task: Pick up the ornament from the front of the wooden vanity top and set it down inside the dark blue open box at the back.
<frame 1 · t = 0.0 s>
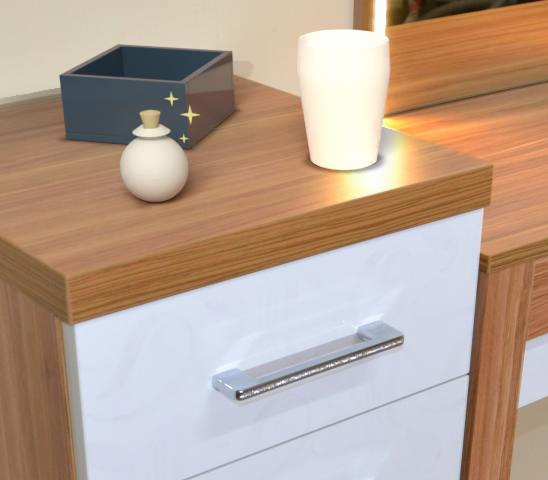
dark blue open box: (154, 124, 125), on the dresser top
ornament: (164, 202, 104), on the dresser top
cup: (343, 162, 115), on the dresser top
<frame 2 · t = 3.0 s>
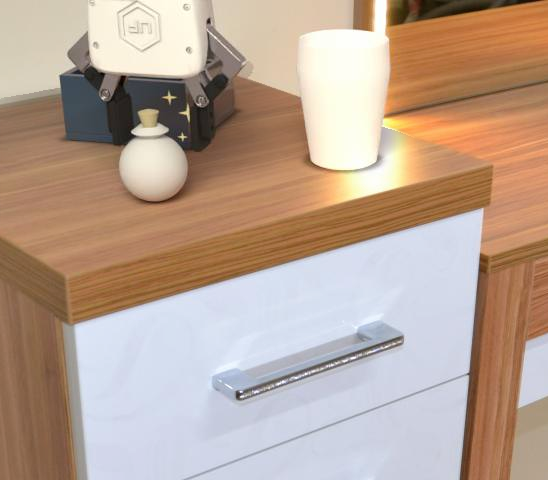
hand: (162, 142, 102), 5 cm above the dresser top, tool pointing down, fingers closed on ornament, 6 cm apart
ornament: (164, 201, 104), on the dresser top, touching gripper
everything else where it was.
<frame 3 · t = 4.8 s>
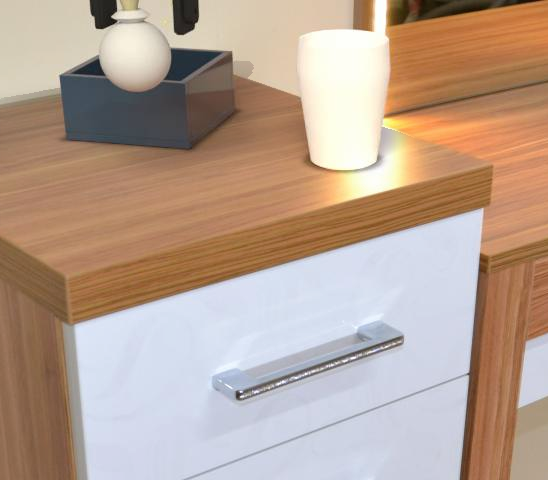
hand: (145, 27, 97), 15 cm above the dresser top, tool pointing down, fingers closed on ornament, 6 cm apart
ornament: (147, 93, 99), point 10 cm above the dresser top, touching gripper
everything else where it was.
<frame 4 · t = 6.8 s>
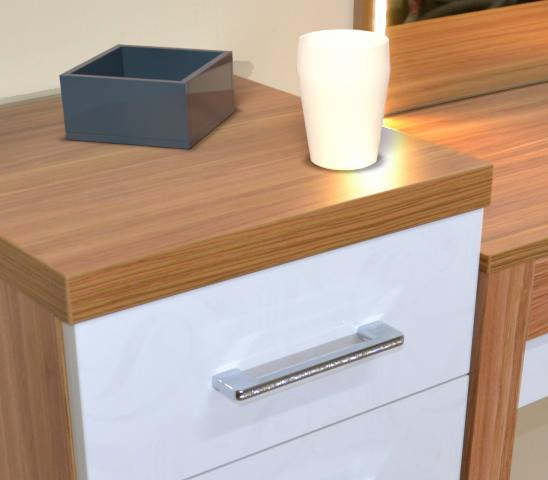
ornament: (142, 1, 116), point 14 cm above the dresser top, touching gripper
everything else where it was.
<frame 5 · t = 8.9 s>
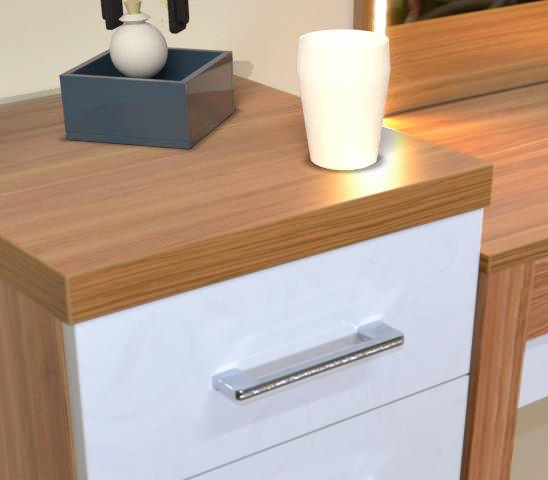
hand: (146, 27, 120), 10 cm above the dresser top, tool pointing down, fingers closed on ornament, 6 cm apart
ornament: (149, 80, 123), point 5 cm above the dresser top, touching gripper
everything else where it was.
when the fingers open (6 cm above the dresser top, at t = 10.5 s): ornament stays where it is, resting on dark blue open box.
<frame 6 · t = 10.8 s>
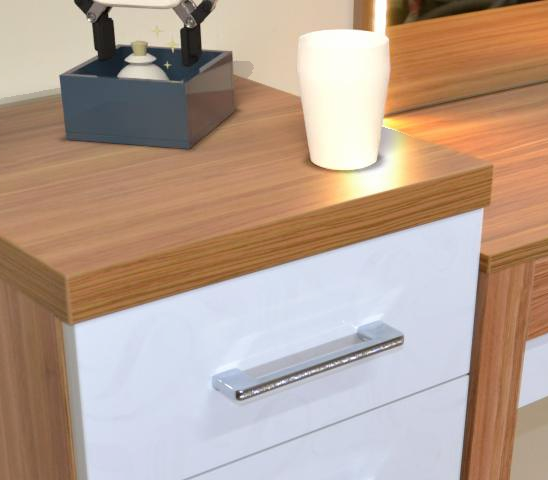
hand: (148, 60, 122), 7 cm above the dresser top, tool pointing down, fingers open, 9 cm apart
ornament: (151, 119, 125), point 1 cm above the dresser top, touching dark blue open box
everything else where it was.
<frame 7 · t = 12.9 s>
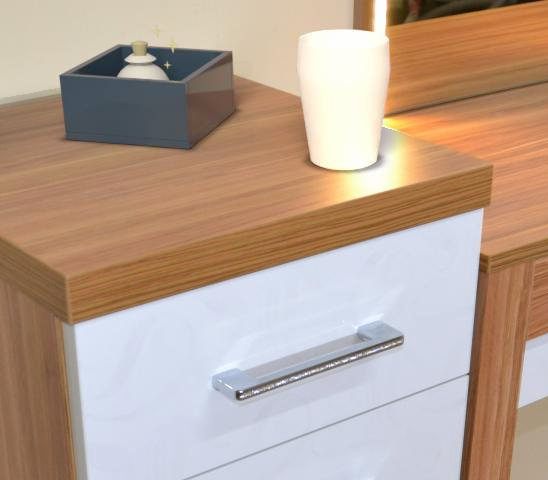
nothing on the dresser top moved.
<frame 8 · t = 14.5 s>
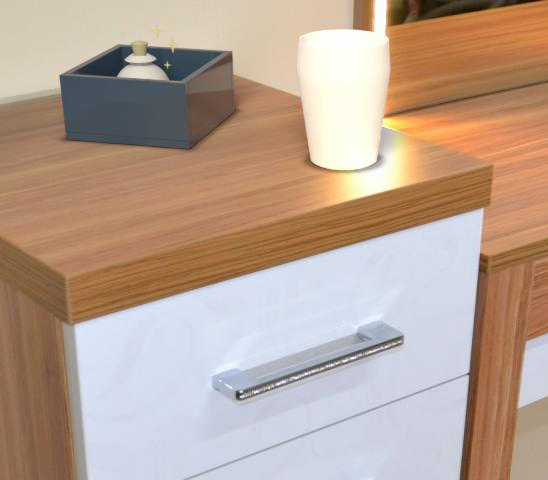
nothing on the dresser top moved.
at the end: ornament inside the target area in the dark blue open box (0.3 cm from its centre), point 0.6 cm above the dark blue open box's base; the gripper is holding nothing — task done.
